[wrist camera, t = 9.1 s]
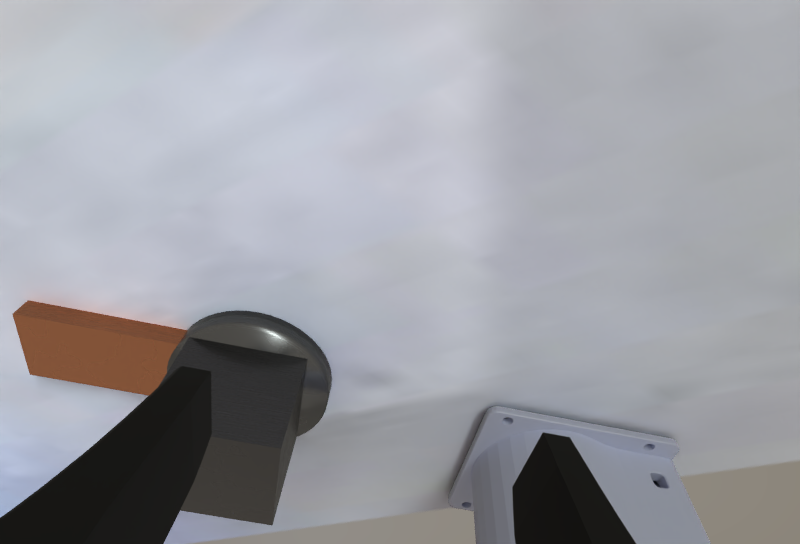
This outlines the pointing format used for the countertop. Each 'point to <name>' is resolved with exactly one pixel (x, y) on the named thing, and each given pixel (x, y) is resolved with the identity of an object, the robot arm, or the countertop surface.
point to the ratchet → (156, 349)
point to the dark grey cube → (245, 428)
